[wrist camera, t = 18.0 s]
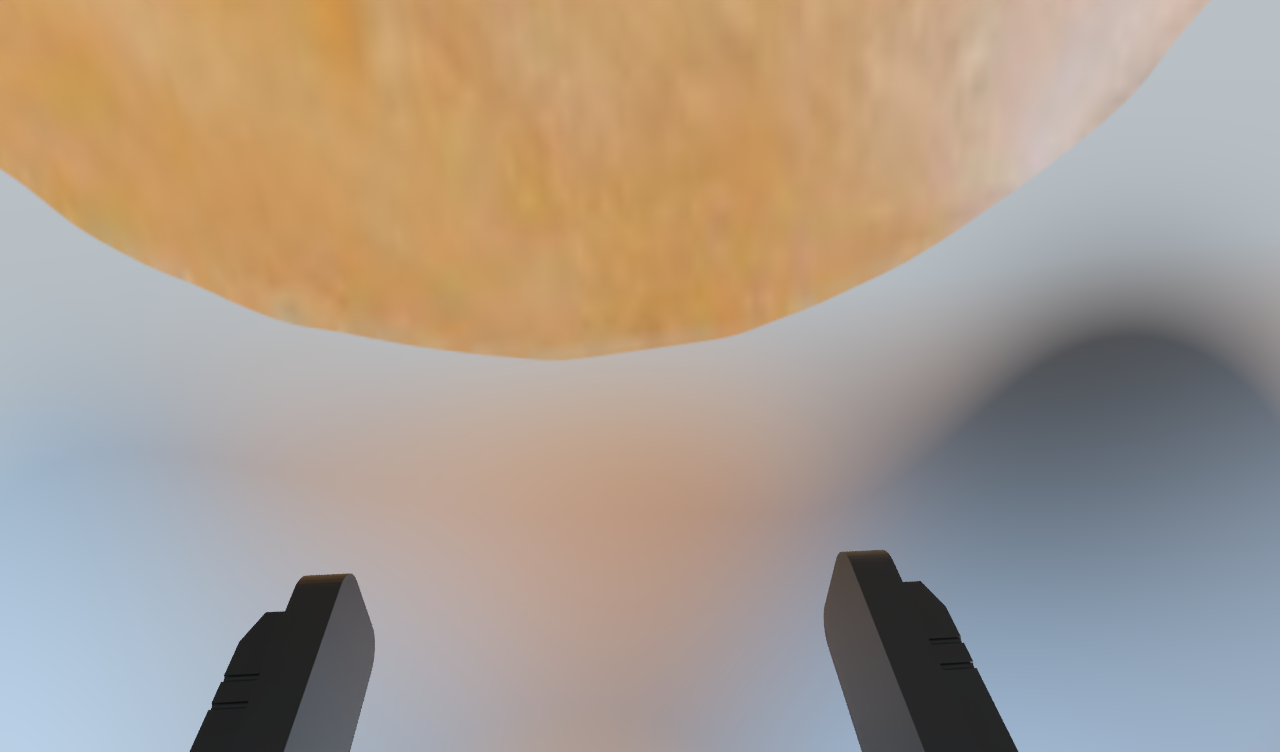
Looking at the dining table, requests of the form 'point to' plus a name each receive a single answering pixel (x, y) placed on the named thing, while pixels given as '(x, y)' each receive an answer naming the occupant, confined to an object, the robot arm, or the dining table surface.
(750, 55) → the dining table surface
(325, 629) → the robot arm
